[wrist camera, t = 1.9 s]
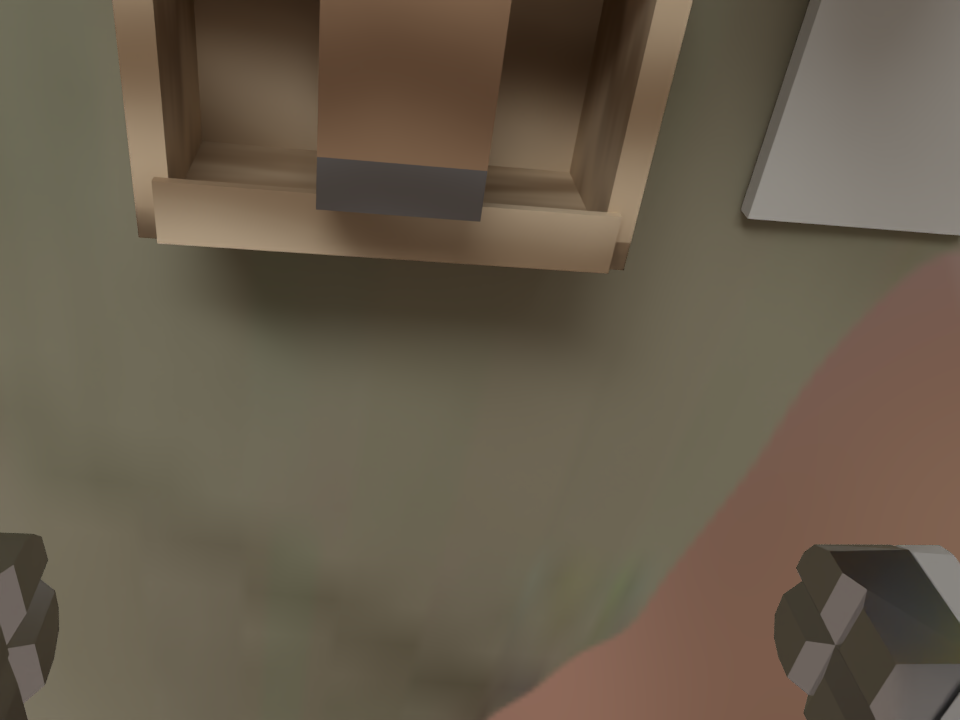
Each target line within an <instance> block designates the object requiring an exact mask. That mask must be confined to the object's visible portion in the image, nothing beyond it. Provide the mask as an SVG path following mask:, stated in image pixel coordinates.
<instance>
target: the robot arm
mask: <svg viewBox="0 0 960 720" xmlns="http://www.w3.org/2000/svg"><path fill="white" fill-rule="evenodd" d="M47 562H48V558H47V554H46V550H45V547H44V543H43V540H42V537H41V536H38V535H35V534H23V533H0V720H28V719H27V715H26V712H25V708H24V704H23V703H24V702H26V701H27V700H28V699H29V698H30V697H31V696H33V695H34V694H35V693H36V692H37V691H39V690H40V689H41V688H42V687H43V686H44V685H45V683H46V680H47V677H48V675H49V672H50V669H51V666H52V663H53V660H54V655H55V650H56V644H57V638H58V632H59V607H58V602H57V597H56V593H55V590H54V589H52V588H51V587H50V586H48V585H47V584H46V583H45V582H43V581H42V580H41V576H42V574H43V572H44V569H45V567H46V564H47ZM796 568H797V571H798V573H799V575H800V577H801V579H802V582H800V583H799V584H797V585H796V586H795V587H793V588H792V589H790V590H789V591H788V592H786V593H785V594H783V596H782V599H781V601H780V604H779V606H778V608H777V611H776V613H775V626H774V639H775V644H776V648H777V652H778V657H779V659H780V662H781V664H782V666H783V669H784V671H785V673H786V675H787V677H788V678H789V679H790V680H791V681H792V682H794V683H795V684H796V685H797V686H799V687H800V688H801V689H802V690H803V691H804V692H806V693H807V694H808V697H807V702H806V705H805V709H804V715H805V717H806V719H807V720H960V563H959V562H958V560H957V559H956V558H955V556H954V555H953V554H952V553H951V552H949V551H948V550H946V549H944V548H943V547H941V546H940V545H897V546H893V545H813V546H812V547H811V548H809V549H808V550H807V551H805V552H804V554H803V555H802V557H801V559H800V561H799V564H798V565H797V567H796Z"/></svg>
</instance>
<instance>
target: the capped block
mask: <svg viewBox="0 0 960 720" xmlns="http://www.w3.org/2000/svg"><path fill="white" fill-rule="evenodd" d="M511 1H512V0H320V24H319V75H318V125H317V176H316V210H329V211H343V212H356V213H369V214H383V215H396V216H410V217H423V218H436V219H450V220H463V221H477V222H480V221H481V214H482V207H483V200H484V192H485V185H486V178H487V171H488V164H489V157H490V150H491V143H492V136H493V129H494V122H495V115H496V107H497V100H498V93H499V86H500V79H501V72H502V65H503V58H504V51H505V44H506V37H507V30H508V23H509V15H510V8H511Z"/></svg>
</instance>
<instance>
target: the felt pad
mask: <svg viewBox="0 0 960 720" xmlns="http://www.w3.org/2000/svg"><path fill="white" fill-rule="evenodd" d="M741 211H742V212H743V213H744V214H745V216H746V217H747V218H748V219H758V220H771V221H784V222H796V223H809V224H821V225H834V226H847V227H859V228H872V229H885V230H897V231H910V232H922V233H935V234H948V235H960V0H810V2H809V5H808V8H807V11H806V14H805V17H804V20H803V23H802V26H801V29H800V32H799V35H798V38H797V41H796V44H795V47H794V50H793V53H792V56H791V59H790V62H789V65H788V68H787V71H786V74H785V77H784V80H783V84H782V87H781V90H780V93H779V96H778V99H777V102H776V105H775V108H774V111H773V114H772V117H771V120H770V123H769V126H768V129H767V132H766V135H765V138H764V141H763V144H762V147H761V150H760V153H759V156H758V159H757V162H756V165H755V168H754V171H753V174H752V177H751V180H750V183H749V186H748V189H747V192H746V195H745V199H744V202H743V205H742V208H741Z"/></svg>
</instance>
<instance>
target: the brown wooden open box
mask: <svg viewBox="0 0 960 720" xmlns="http://www.w3.org/2000/svg"><path fill="white" fill-rule="evenodd" d="M112 2H113V11H114V20H115V29H116V38H117V47H118V56H119V65H120V74H121V83H122V92H123V101H124V110H125V119H126V127H127V136H128V145H129V154H130V163H131V172H132V181H133V190H134V199H135V208H136V217H137V226H138V235H139V237H141V238H156V239H157V243H159V244H174V245H189V246H204V247H219V248H234V249H249V250H264V251H279V252H294V253H309V254H324V255H338V256H353V257H368V258H383V259H398V260H413V261H428V262H443V263H458V264H473V265H488V266H503V267H518V268H533V269H548V270H563V271H578V272H593V273H608V272H609V269H614V270H624V267H625V263H626V259H627V255H628V252H629V248H630V244H631V240H632V236H633V232H634V228H635V224H636V220H637V216H638V212H639V209H640V205H641V201H642V197H643V193H644V189H645V185H646V181H647V177H648V173H649V170H650V166H651V162H652V158H653V154H654V150H655V146H656V142H657V138H658V134H659V130H660V127H661V123H662V119H663V115H664V111H665V107H666V103H667V99H668V95H669V91H670V88H671V84H672V80H673V76H674V72H675V68H676V64H677V60H678V56H679V52H680V49H681V45H682V41H683V37H684V33H685V29H686V25H687V21H688V17H689V13H690V9H691V6H692V2H693V0H512V1H511V8H510V15H509V23H508V30H507V37H506V44H505V51H504V58H503V65H502V72H501V79H500V86H499V93H498V100H497V107H496V115H495V122H494V129H493V136H492V143H491V150H490V157H489V164H488V171H487V178H486V185H485V192H484V200H483V207H482V214H481V221H480V222H477V221H463V220H450V219H436V218H423V217H410V216H396V215H383V214H369V213H356V212H343V211H329V210H316V176H317V125H318V75H319V24H320V0H112Z"/></svg>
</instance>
